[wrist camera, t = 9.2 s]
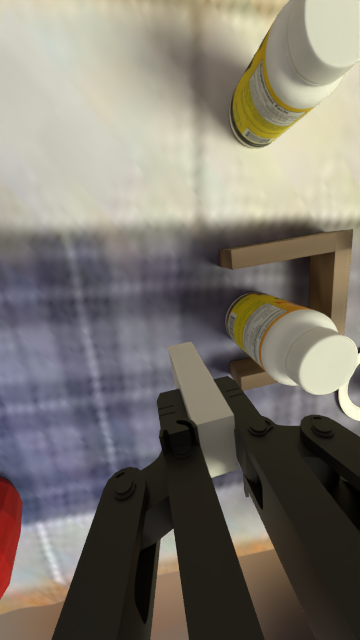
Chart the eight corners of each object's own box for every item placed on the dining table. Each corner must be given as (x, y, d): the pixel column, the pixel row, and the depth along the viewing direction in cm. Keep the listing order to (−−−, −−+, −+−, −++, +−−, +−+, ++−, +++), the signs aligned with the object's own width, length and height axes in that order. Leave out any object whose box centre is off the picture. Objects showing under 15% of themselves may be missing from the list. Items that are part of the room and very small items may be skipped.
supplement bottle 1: (271, 62, 17) (384, -100, 9) (292, 130, 19) (404, 42, 11) (216, 97, 17) (280, -33, 9) (242, 162, 19) (316, 98, 11)
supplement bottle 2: (284, 317, 24) (385, 364, 14) (244, 353, 24) (315, 422, 14) (254, 278, 22) (346, 300, 12) (211, 317, 22) (267, 370, 13)
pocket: (218, 249, 20) (231, 249, 18) (325, 231, 22) (353, 229, 19) (230, 374, 25) (241, 390, 22) (319, 354, 26) (341, 367, 23)
